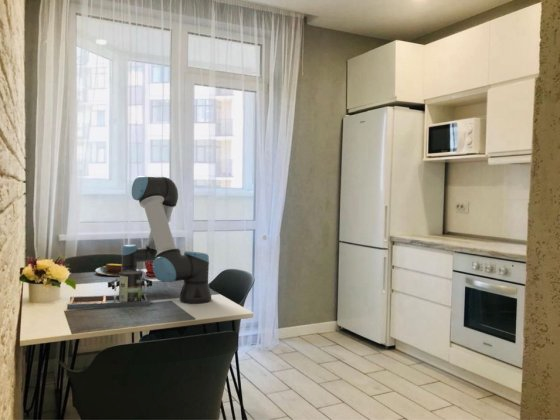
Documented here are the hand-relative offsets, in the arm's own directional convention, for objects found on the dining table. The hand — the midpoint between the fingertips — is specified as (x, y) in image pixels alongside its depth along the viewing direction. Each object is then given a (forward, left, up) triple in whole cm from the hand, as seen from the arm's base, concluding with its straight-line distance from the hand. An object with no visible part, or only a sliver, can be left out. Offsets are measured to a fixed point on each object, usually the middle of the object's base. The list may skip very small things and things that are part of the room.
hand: (130, 287), depth 215 cm
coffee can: (+3, -2, -8) cm, 9 cm away
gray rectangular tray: (+9, +4, -8) cm, 12 cm away
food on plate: (+63, -52, -8) cm, 82 cm away
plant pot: (+41, -61, -8) cm, 74 cm away
